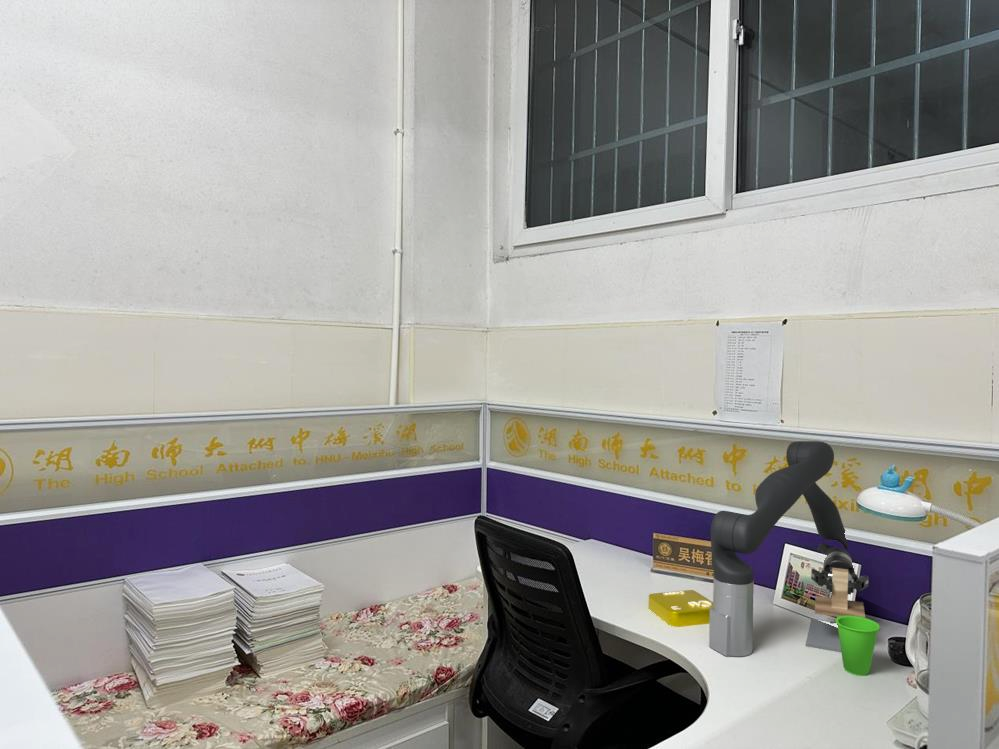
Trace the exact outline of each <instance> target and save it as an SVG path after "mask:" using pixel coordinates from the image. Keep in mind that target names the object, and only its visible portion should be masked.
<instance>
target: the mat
mask: <svg viewBox="0 0 999 749" xmlns="http://www.w3.org/2000/svg"><path fill="white" fill-rule="evenodd" d="M815 619H816V618H811V619H810V623H809V628H808V632H807V637H806V639H805V647H809V646H810V647H811V648H815V649H821V650H826V651H831V652H832V651H833V652H838V653H841V646H840V639H839V632H838V628H836V627H834V626H831V625H829V624H826V623H823V622H821V621H818V620H819V619H816V620H815Z"/></svg>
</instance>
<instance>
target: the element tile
mask: <svg viewBox="0 0 999 749" xmlns="http://www.w3.org/2000/svg"><path fill="white" fill-rule="evenodd" d="M711 608H713V600H710V599H709V598H707V597H706V596H705V595H702V594H701V593H699V592H697V591H696V590H694V589H687V590H677V591H674V590H673V591H665V592H654V593H653V592H652V593H649V595H648V610H649V609H650V610H651V611H652V613H653V612H654V613H655V614H656V615H655V614H654V613H653V614H654V615H655V616H656V617H658V616H659V617H660V618H661V619H660V618H659V617H658V618H659V619H660V620H662V621H663V622H664V621H665V622H666V623H665V622H664V623H665V624H667V625H668V626H670V625H671V626H670V627H673V626H674V627H673V628H675V627H676V628H680V627H690V626H699V625H709V623H710V609H711ZM650 610H649V611H650ZM651 611H650V612H651Z"/></svg>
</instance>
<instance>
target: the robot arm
mask: <svg viewBox="0 0 999 749" xmlns="http://www.w3.org/2000/svg"><path fill="white" fill-rule="evenodd" d="M785 456H786V463H787V466H786V467H782V468H780V469H777V470H775V471H774V472H772V473H770V474H769V475H768V476H766V477H765V478H764V480H762V481H761V483H759V485H758V486H757V488H756V490H755V494H754V497H755V499H754V500H755V505H756V508H757V509H756V510H755V512H753V513H751V514H745V513H739V512H735V511H729V510H720V511H718V512H717V513H715V515H714V516H713V519H712V522H711V525H710V547H711V549H710V550H711V552H710V554H711V567H712V570H713V587H712V588H713V590H712V591H713V592H712V594H713V597H712V598H713V599H712V602H713V608H711V609H710V623H709V624H708V625H709V629H708V630H709V632H708V633H709V634H708V636H709V639H708V647H709V648H711V649H713V650H714V651H716V652H717V653H720V654H721V655H723V656H725V657H747V656H750V655H751V654H753V642H754V641H753V640H754V638H753V637H754V634H753V633H754V632H753V629H754V628H753V627H754V593H755V592H754V589H755V587H754V585H755V584H754V583H755V582H754V581H755V580H754V579H755V578H754V577H755V574H754V573H755V572H754V569H753V568H752V567H751V566H750V565H749V564H747V562H744V561H743V560H742V559H741V558H740V557H739V556H738V554H737V553H739V554H743V555H750V554H753V553H754V552H756V551H757V550H758V549H760V546H761V545H762V543H764V541H765V540H766V538H767V537H768V535H769V534H770V532H771V530H772V529H773V528H774V527H775V526H776V524H777V523H778V522H779V521H780V519H781V518H783V516H784V515H785V514H786V513H787V512H788V511H789V510H790V509H791V508H792V507H793V506H794V504H796V503H797V501H798V500H799V499H800V498H801V496H802V495H803V498H804V499H805V501H806V503H807V505H808V507H809V511H810V512H811V516H812V518H813V521H814V525H815V529H816V530H817V534H818V535H819V537H820V538H822V539H825V540H829V541H832V540H837V541H839V542H841V543H842V544H843V545H844V547H845V548H846V549H848V544H847V541H846V538H845V534H844V533H845V531H846V528H845V527H844V525H843V520H842V518H841V514H840V511H839V508H838V507H837V505H836V504H835V502H834V501H833V499H832V498H830V496H829V495H827V494H826V492H825V491H824V490H823V489H821V488H820V486H819V485H818V483H817V482H818V481H819V480H820V479H823V477H825V476H826V475H827V474H828V473H829V472H830V471H831V469H832V467H833V465H834V461H835V453H834V450H833V448H832V446H831V445H830V444H829V443H827V442H824V441H820V440H818V441H817V440H813V441H812V440H811V441H810V440H806V441H805V440H803V441H802V440H801V441H800V440H799V441H793V442H791V443H789V445H788V446H787V449H786V454H785ZM818 546H819V547H818ZM818 546H817V552H818V551H819V552H821V553H823V554H826V555H827V557H826V558H825V560H824V564H823V563H822V564H823V568H822V570H821V571H820V570H817V569H815V568H812V569H811V571H810V572H811V573H810V574H811V577H810V579H811V580H812V581H813V582H814V583H815V584H817V586H819V587H824V586H825V588H826V589H825V590H827V591H829V592H830V593H832V587H833V582H832V568H839V569H847V570H848V595H851V594H854V592H855V590H856V592H861V591H864V589H866V588H868V587H869V576H868V575H860V576H858V574H857V573H856V571H854V570H855V567H854V568H853V565H852V563H853V562H852V557H851V555H850V554H849V552H847V551H846V550H845V549H842V548H831V547H833V546H831V547H830V546H828V545H826V544H821V543H819V544H818ZM853 564H854V563H853Z"/></svg>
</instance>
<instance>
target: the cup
mask: <svg viewBox="0 0 999 749" xmlns="http://www.w3.org/2000/svg"><path fill="white" fill-rule="evenodd" d="M834 621H835V623H837V625H838V632H839V639H840V646H841V652H840V654H841V657H842V658H841V659H842V665H843V668H844V671H846V672H847V673H850V674H851V675H855V676H861V677H862V676H867V675H868V674H869V673H870V669H871V666H872V660H873V656H874V650H875V646H876V641H877V636H878V632H879V630H880V629H881V626H880V624H879V623H878V622H876V621H875V620H872V619H870V618H867V617H865V618H863V617H859V616H850V615H848V616H839V617H836V618H835V620H834Z"/></svg>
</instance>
